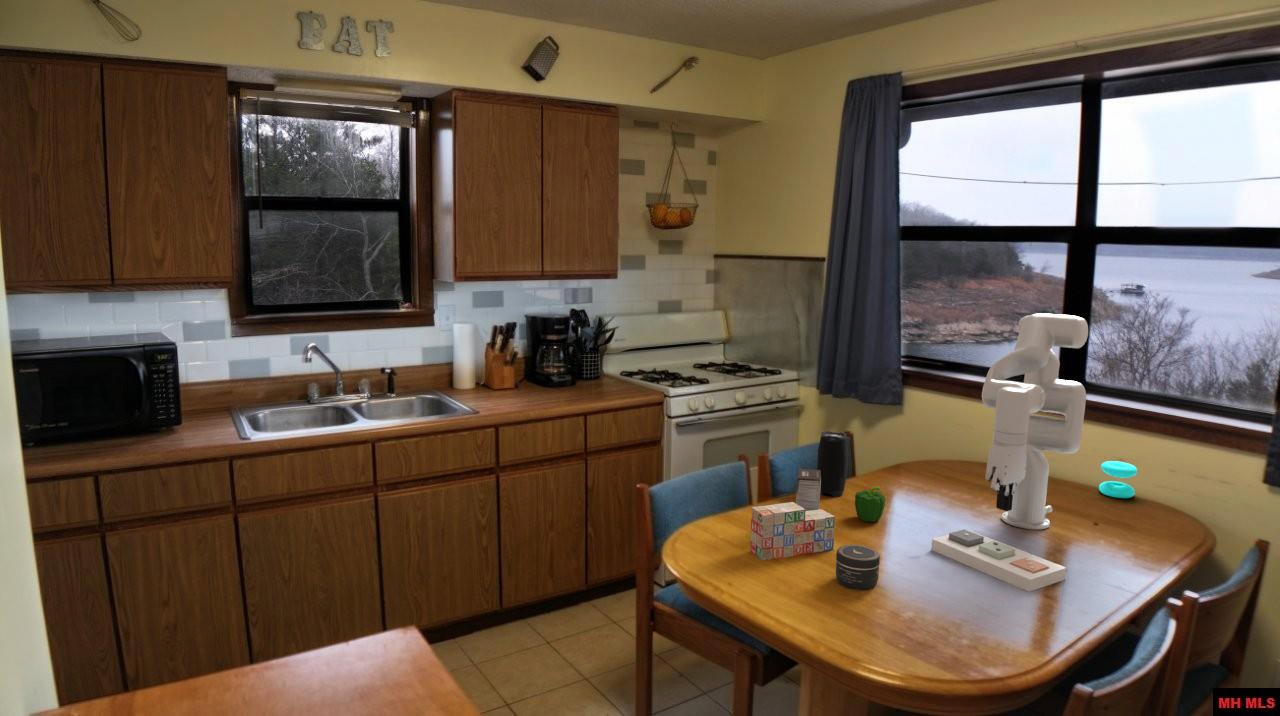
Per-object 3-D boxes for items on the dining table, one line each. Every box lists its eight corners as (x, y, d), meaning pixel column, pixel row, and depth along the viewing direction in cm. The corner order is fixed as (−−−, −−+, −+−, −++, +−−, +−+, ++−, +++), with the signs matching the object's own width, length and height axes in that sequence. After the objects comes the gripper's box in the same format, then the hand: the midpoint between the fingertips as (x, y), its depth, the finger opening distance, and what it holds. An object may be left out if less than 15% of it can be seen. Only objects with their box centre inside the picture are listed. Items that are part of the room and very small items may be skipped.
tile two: (993, 550, 203) (994, 539, 203) (1014, 559, 198) (1015, 548, 198) (977, 555, 200) (978, 544, 200) (998, 563, 195) (999, 552, 195)
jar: (871, 595, 181) (873, 564, 180) (828, 585, 186) (830, 554, 185) (883, 580, 190) (885, 549, 188) (842, 570, 195) (843, 540, 194)
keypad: (966, 540, 215) (967, 529, 215) (1065, 579, 191) (1066, 567, 191) (931, 549, 208) (932, 538, 208) (1029, 591, 184) (1030, 579, 184)
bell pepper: (851, 522, 227) (853, 488, 226) (855, 513, 235) (857, 480, 233) (882, 526, 224) (884, 492, 223) (885, 517, 232) (887, 484, 230)
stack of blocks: (820, 541, 213) (822, 497, 211) (833, 550, 207) (836, 505, 205) (749, 551, 206) (751, 506, 204) (761, 561, 200) (763, 514, 198)
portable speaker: (812, 489, 256) (814, 430, 253) (839, 488, 258) (842, 430, 255) (821, 498, 248) (824, 437, 245) (850, 497, 249) (853, 436, 246)
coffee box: (795, 522, 227) (797, 468, 224) (817, 524, 226) (820, 469, 223) (794, 533, 218) (797, 477, 216) (818, 535, 217) (821, 479, 214)
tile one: (963, 539, 211) (964, 528, 211) (983, 546, 206) (984, 536, 206) (948, 543, 208) (949, 532, 208) (967, 551, 203) (968, 540, 203)
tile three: (1024, 567, 196) (1025, 556, 195) (1047, 576, 191) (1048, 565, 190) (1009, 572, 193) (1010, 561, 193) (1032, 582, 188) (1033, 570, 187)
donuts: (1144, 466, 252) (1124, 470, 248) (1141, 497, 253) (1121, 501, 249) (1114, 458, 261) (1094, 462, 257) (1111, 488, 262) (1091, 491, 258)
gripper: (1014, 430, 201) (1008, 499, 204) (977, 438, 193) (971, 510, 196) (1042, 437, 195) (1035, 508, 198) (1005, 445, 187) (999, 519, 190)
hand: (1003, 509), depth 197 cm, fingers closed
